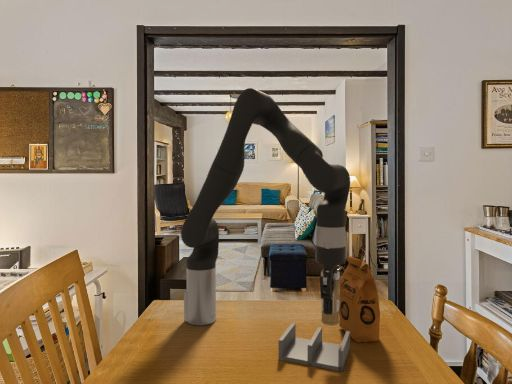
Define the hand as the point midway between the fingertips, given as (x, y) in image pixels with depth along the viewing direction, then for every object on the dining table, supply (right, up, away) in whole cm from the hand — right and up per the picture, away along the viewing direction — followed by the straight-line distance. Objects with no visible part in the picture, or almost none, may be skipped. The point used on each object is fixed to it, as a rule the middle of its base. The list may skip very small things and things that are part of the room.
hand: (329, 310), depth 97 cm
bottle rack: (-4, -12, +2) cm, 13 cm away
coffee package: (+11, -12, +14) cm, 22 cm away
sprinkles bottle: (0, -3, 0) cm, 3 cm away
